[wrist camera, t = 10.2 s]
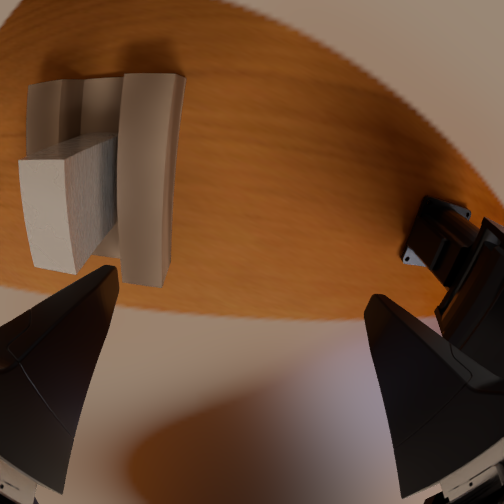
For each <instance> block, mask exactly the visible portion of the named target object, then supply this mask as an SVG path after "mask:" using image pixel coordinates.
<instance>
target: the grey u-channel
mask: <svg viewBox="0 0 504 504" xmlns="http://www.w3.org/2000/svg"><path fill="white" fill-rule="evenodd" d="M185 84H186V78H185V77H182V76H180V75H177V74H169V73H129V74H124V77H111V78H96V79H85V80H81V79H61V80H54V81H48V82H43V83H38V84H32V85H29V86H28V98H27V117H26V150H27V156H29V155H31V154H33V153H36V152H38V151H41V150H43V149H45V148H48V147H50V146H53V145H56V144H58V143H61V142H64V141H66V140H69V139H72V138H75V137H78V136H80V135H83V134H86V133H118V154H117V213H118V221H117V223H116V224H115V225H114V226H113V227H112V229H111V230H110V231H109V232H108V234H107V235H106V236H105V237H104V239H103V240H102V241H101V242H100V244H99V245H98V246H97V248H96V249H95V250H94V251H93V253H92V254H91V255H98V256H105V257H112V258H120V261H121V272H122V281H123V283H130V284H137V285H144V286H151V287H158V288H162V286H163V283H164V280H165V277H166V274H167V271H168V268H169V265H170V263H171V236H172V213H173V196H174V182H175V169H176V158H177V147H178V138H179V129H180V120H181V112H182V105H183V98H184V91H185ZM43 269H44V268H43ZM48 270H49V269H48ZM53 271H54V270H53ZM58 272H59V271H58ZM69 274H70V273H69Z"/></svg>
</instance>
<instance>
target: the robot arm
mask: <svg viewBox="0 0 504 504" xmlns="http://www.w3.org/2000/svg"><path fill="white" fill-rule="evenodd" d="M428 200H429V203H427V202H428ZM470 217H471V211H470V210H468V209H467V208H464V207H461V206H458V205H456V204H453V203H450V202H447V201H444V200H441V199H438V198H435V197H432V196H428V195H427V196H425V197H424V199H423V201H422V204H421V207H420V210H419V212H418V215H417V218H416V221H415V223H414V226H413V228H412V231H411V234H410V236H409V239H408V241H407V244H406V246H405V248H404V251H403V253H402V256H401V260H402V262H403V263H405V264H411V265H418V266H426V267H427V268H428V269H429V270H430V271H431V272H432V273H433V274H434V275H435V277H436V278H437V279H438V280H439V281H440V283H441V284H442V285H443V286H444V287H445V289H446V290H447V291H448V292H447V293H446V295H445V297H444V298H443V300H442V302H441V303H440V305H439V306H437V308H436V309H435V311H434V312H435V315H436V318H437V321H438V324H439V327H440V330H441V333H442V336H443V337H441V336H440V335H439V334H437V333H436V332H435V331H433V330H432V329H431V328H429V327H428V326H427V325H425V324H424V323H422V322H421V321H420V320H418V319H417V318H416V317H414V316H413V315H412V314H410V313H409V312H407V311H406V310H405V309H403V308H402V307H401V306H399V305H398V304H396V303H395V302H394V301H392V300H391V299H389V298H388V297H386V296H385V295H383V294H373V295H372V297H371V298H370V301H369V303H368V305H367V307H366V309H365V311H364V320H365V325H366V330H367V336H368V341H369V347H370V352H371V355H372V359H373V363H374V366H375V370H376V374H377V378H378V381H379V386H380V389H381V394H382V397H383V402H384V406H385V410H386V415H387V419H388V424H389V429H390V433H391V438H392V443H393V448H394V455H395V460H396V466H397V472H398V479H399V485H400V491H401V497H402V499H403V498H406V497H409V496H411V495H414V494H416V493H419V492H421V491H424V490H426V489H428V488H430V487H433V486H435V485H437V484H439V483H440V485H441V488H442V492H440V493H438V494H436V495H434V496H432V497H429V498H427V499H426V500H425V502H424V504H504V227H503V226H501V225H499V224H497V223H496V222H494V221H492V220H490V219H488V218H486V217H484V218H483V220H482V225H481V228H480V229H479V228H478V227H476V226H475V225H474V224H473V223H471V222H470V221H469V219H470ZM406 257H407V258H406ZM405 258H406V259H405ZM118 293H119V281H118V272H117V268H116V267H115V266H110V265H104V266H102V267H100V268H98V269H96V270H95V271H93V272H91V273H89V274H88V275H86V276H84V277H82V278H81V279H79V280H77V281H75V282H74V283H72V284H70V285H69V286H67V287H65V288H64V289H62V290H60V291H58V292H57V293H55V294H53V295H52V296H50V297H48V298H47V299H45V300H44V301H42V302H40V303H39V304H37V305H35V306H34V307H32V308H31V309H29V310H27V311H26V312H24V313H23V314H21V315H19V316H18V317H16V318H15V319H13V320H12V321H10V322H8V323H6V324H4V325H2V326H1V327H0V504H38V502H37V500H36V498H35V497H34V496H35V491H36V487H37V484H39V485H41V486H43V487H45V488H48V489H50V490H52V491H54V492H57V493H59V494H61V495H62V494H63V490H64V484H65V479H66V474H67V468H68V464H69V459H70V454H71V450H72V446H73V441H74V439H73V438H74V437H75V432H76V429H77V425H78V421H79V418H80V414H81V411H82V407H83V404H84V400H85V397H86V394H87V391H88V387H89V384H90V381H91V378H92V375H93V372H94V369H95V366H96V363H97V360H98V357H99V355H100V352H101V349H102V346H103V343H104V341H105V338H106V336H107V333H108V329H109V326H110V323H111V319H112V315H113V311H114V308H115V304H116V300H117V297H118Z"/></svg>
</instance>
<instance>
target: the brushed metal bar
mask: <svg viewBox="0 0 504 504" xmlns="http://www.w3.org/2000/svg"><path fill="white" fill-rule="evenodd" d="M117 154H118V133H86V134H83V135H80V136H78V137H75V138H72V139H69V140H66V141H64V142H61V143H58V144H56V145H53V146H50V147H48V148H45V149H43V150H41V151H38V152H36V153H33V154H31V155H29V156H27V157H24V158H22V159H20V160H18V162H19V176H20V187H21V196H22V204H23V211H24V218H25V224H26V230H27V235H28V240H29V245H30V250H31V254H32V258H33V263H34V267H39V268H44V269H49V270H54V271H59V272H64V273H70V274H75V275H77V273H78V272H79V270H80V269H81V268H82V266H83V265H84V263H85V262H86V261H87V259H88V258H89V257H90V255H91V254H92V253H93V251H94V250H95V249H96V248H97V246H98V245H99V244H100V242H101V241H102V240H103V239H104V237H105V236H106V235H107V234H108V232H109V231H110V230H111V229H112V227H113V226H114V225H115V224H116V223H117V221H118V213H117Z"/></svg>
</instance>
